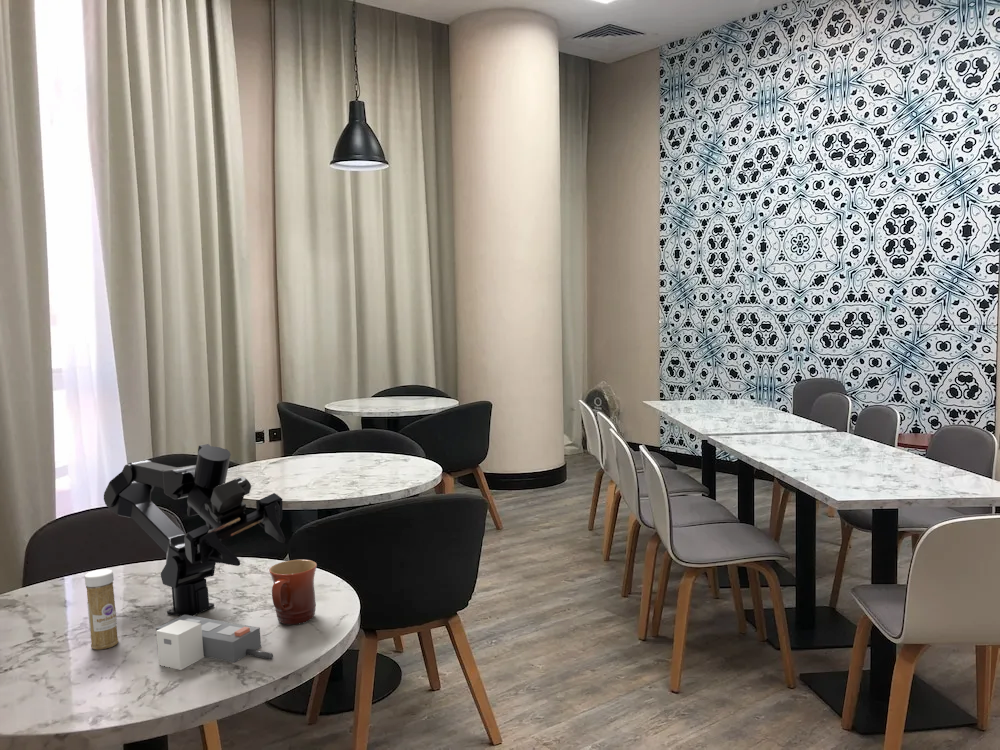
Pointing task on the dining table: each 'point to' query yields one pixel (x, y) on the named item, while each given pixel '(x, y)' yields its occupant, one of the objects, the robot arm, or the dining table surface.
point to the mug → (294, 591)
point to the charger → (180, 644)
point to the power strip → (226, 639)
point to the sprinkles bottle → (101, 609)
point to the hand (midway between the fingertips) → (262, 551)
